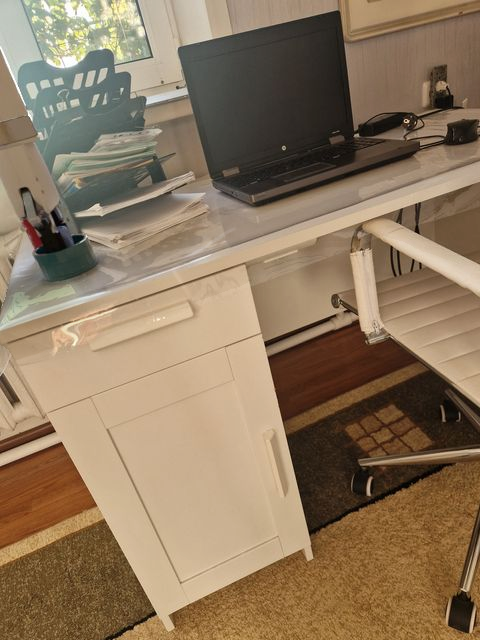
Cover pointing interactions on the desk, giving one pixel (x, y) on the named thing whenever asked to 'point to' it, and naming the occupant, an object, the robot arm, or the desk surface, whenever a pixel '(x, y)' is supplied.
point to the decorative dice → (66, 235)
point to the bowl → (66, 259)
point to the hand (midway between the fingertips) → (62, 251)
